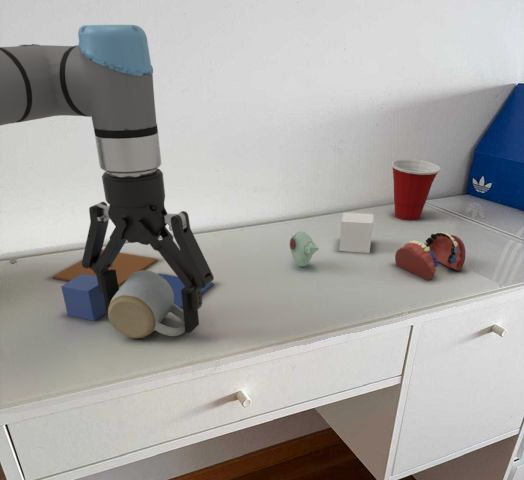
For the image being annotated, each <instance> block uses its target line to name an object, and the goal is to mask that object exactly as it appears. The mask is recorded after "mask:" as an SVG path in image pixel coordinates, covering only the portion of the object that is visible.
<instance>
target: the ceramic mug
mask: <svg viewBox="0 0 524 480" xmlns="http://www.w3.org/2000/svg"><path fill="white" fill-rule="evenodd" d="M158 274H159V273H157V272H154V271H151V270H146V269H144V270H142V271H137V272H134V273H133V274H131V275H130V276H129V277H128V278H127V280H126V281H125V282H124V283H123V284H121V285H120V287H119V290H118V292H117V293H116V294H115V295H114V297H113V298H112V300H111V302H110V305H109V307H108V316H107V317H108V320H109V322H110V324H111V325H112V327H113V328H114V329H115V330H116V331H117V332H118V333H120V334H121V335H123V336H124V337H128V338H130V339H143V338H145V337H147V336H149V335H150V334H152V333H153V332H154V331H155V332H158V333H159V334H161V335H164V336H169V337H177V336H181V335H183V334H184V333H186V332H185V324H184V314H183V309H181V308H180V307H178V306H177V305H175V304H174V293H173V290H172V288H171V286H170V285H169V283H168V282H167V281H166V280H165V279H164V278H163V277H162V276H160V275H158ZM169 313H171V314H173V315H174V316H176V317H177V318H179V320H180V321H181V322H182V324H183V325H182V326H179V327H171V326H168V325H165V324H163V323H162V321H163V320H164V319H165V318H166V317H167V315H168V314H169Z"/></svg>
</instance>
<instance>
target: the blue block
mask: <svg viewBox="0 0 524 480" xmlns="http://www.w3.org/2000/svg"><path fill="white" fill-rule="evenodd" d="M60 288H61V292H62V296H63V301H64V305H65V311H66V314H67V316H69V317H72V318H78V319H83V320H87V321H93V322H95V321H96V320H98V319H99V318H101V317H102V316H104V315H106V314H107V311H106V306H105V300H104V295H103V293H101V292H100V290H99V286H98V281H97V276H92V275H87V274H81V275H80V276H78V277H76V278H74V279H73V280H71V281H66V282H65V283H64V284H62V285H61V286H60Z"/></svg>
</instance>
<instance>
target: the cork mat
mask: <svg viewBox="0 0 524 480" xmlns="http://www.w3.org/2000/svg"><path fill="white" fill-rule="evenodd" d="M103 250H104V249H102V252H103ZM102 252H101V254H102ZM156 262H158V258H154V257H149V256H142V255H136V254H129V253H123V252H119V253H118V255H117V257H116V258H115V260H114V262H113V263H112V265H113V266H112V265H111V266H112V267H110V268H109V270H111V269H114V270H116V275H117V281H118V287H121V286H122V285H123V284H124V282H125V281H126V280H127V278H128V277H129V276H130V275H131V274H133V273H134V272H137V271H142V270H146V269H147V268H149V267H151V265H153V264H155V263H156ZM81 274H87V275H92V276H96V274H95V273H94V271H93V270H92V269H90V268H87V269H86V268H84V267H83V266H82V260H80V261H78V262H76V263H75V264H73V265H70V266H69V267H67V268H65V269H63V270H62V271H60V272H58V273H56V274H54V275H53V276H52V278H53V279H55V280H61V281H65V282H69V281H71V280H73V279H74V278H76V277H78V276H80V275H81Z"/></svg>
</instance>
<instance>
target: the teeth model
mask: <svg viewBox="0 0 524 480" xmlns="http://www.w3.org/2000/svg"><path fill="white" fill-rule="evenodd" d="M466 254H467V253H466V246H465V244H464V241H463V240H462V239H461V238H460V237H458V236H457V235H454V234H451V233H450V234H449V233H446V232H443V231H441V232H436V233H431V234H430V237H427V239H426V240H425V242H424V243H423V242H422V241H419V240H414V239H413V240H409V242H407V243H405V244H404V245H403V246H402V247H400V248H399V249H397V250H396V252H395V255H394V263H395V266H396V267H399V268H401V269H403V270H405V271H407V272H409V273H411V274H413V275H415V276H417V277H419V278H422V279H424V280H426V281H430V280H431V279H432V278H434V277H435V274H436V270H437V269H436V268H437V267H438V266H439V263H440V264H442V265H445V266H446V267H448V268H450V269H453V270H455V271H457V272H458V271H459V272H461V271H462V270H463V267H464V265H465V262H466Z"/></svg>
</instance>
